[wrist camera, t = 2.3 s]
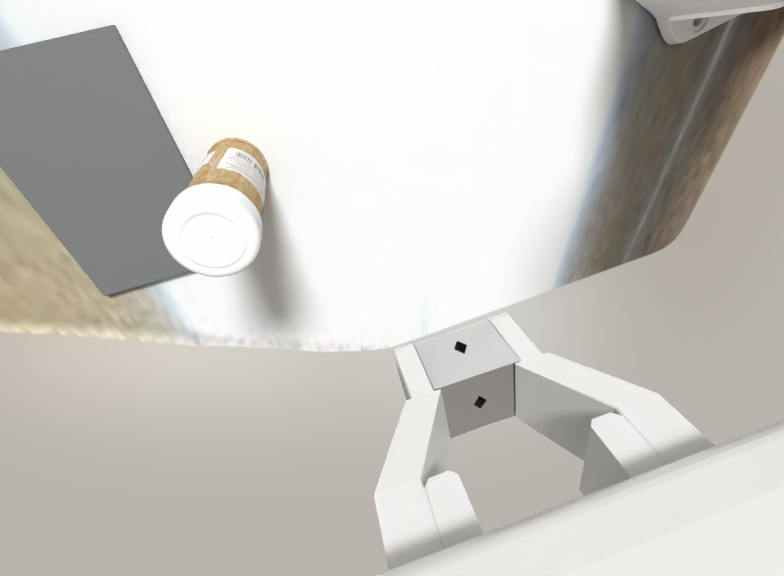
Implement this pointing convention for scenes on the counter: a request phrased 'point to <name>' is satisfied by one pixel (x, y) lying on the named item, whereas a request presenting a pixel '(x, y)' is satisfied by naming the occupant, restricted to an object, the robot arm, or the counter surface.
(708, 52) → the counter surface
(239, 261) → the sprinkles bottle
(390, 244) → the counter surface
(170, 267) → the mat
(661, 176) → the counter surface
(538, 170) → the counter surface
